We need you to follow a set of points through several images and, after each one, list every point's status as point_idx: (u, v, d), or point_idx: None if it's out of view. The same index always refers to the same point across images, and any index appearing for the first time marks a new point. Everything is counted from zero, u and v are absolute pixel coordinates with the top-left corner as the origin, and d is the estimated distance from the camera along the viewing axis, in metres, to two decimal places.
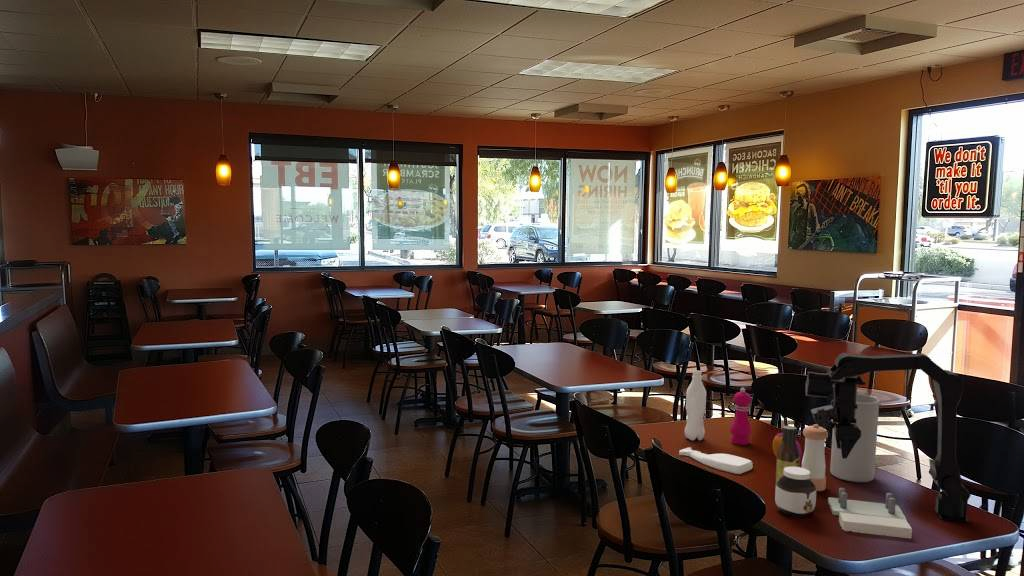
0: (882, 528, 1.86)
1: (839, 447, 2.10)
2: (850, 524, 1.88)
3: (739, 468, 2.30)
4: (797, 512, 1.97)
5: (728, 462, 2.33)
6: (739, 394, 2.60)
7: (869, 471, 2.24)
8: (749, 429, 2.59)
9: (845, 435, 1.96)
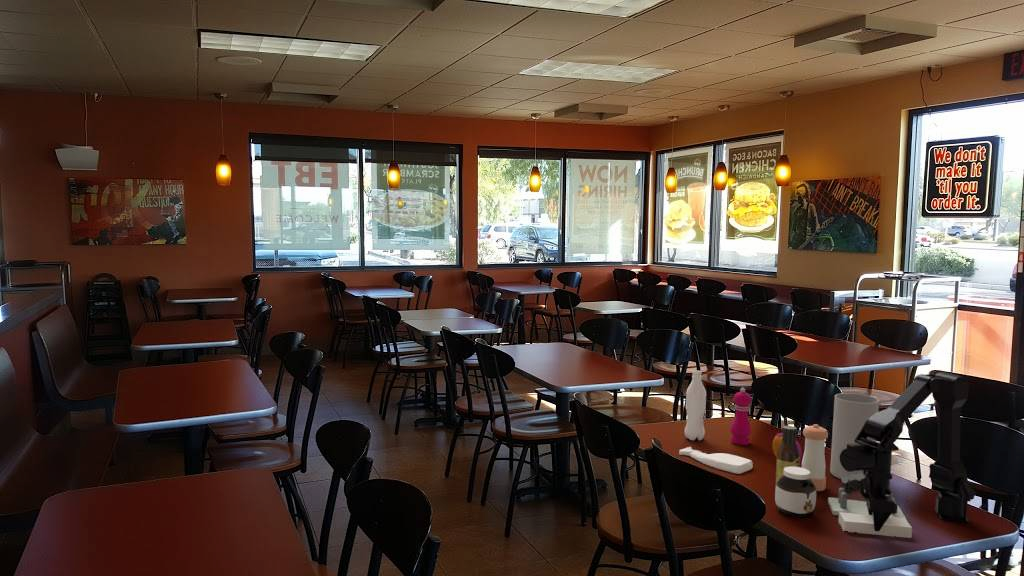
0: (883, 527, 1.86)
1: None
2: (851, 524, 1.88)
3: (739, 468, 2.30)
4: (797, 512, 1.97)
5: (728, 462, 2.34)
6: (739, 394, 2.60)
7: None
8: (749, 429, 2.59)
9: (880, 510, 1.80)
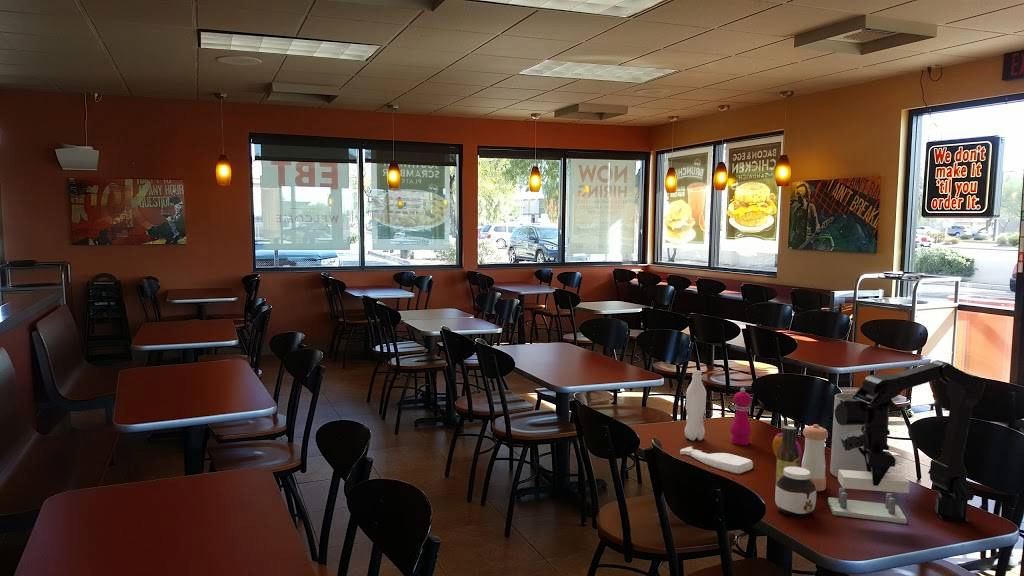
0: (881, 482, 1.91)
1: None
2: (850, 480, 1.93)
3: (739, 468, 2.30)
4: (797, 512, 1.97)
5: (728, 461, 2.34)
6: (739, 394, 2.60)
7: None
8: (749, 429, 2.59)
9: (879, 464, 1.85)
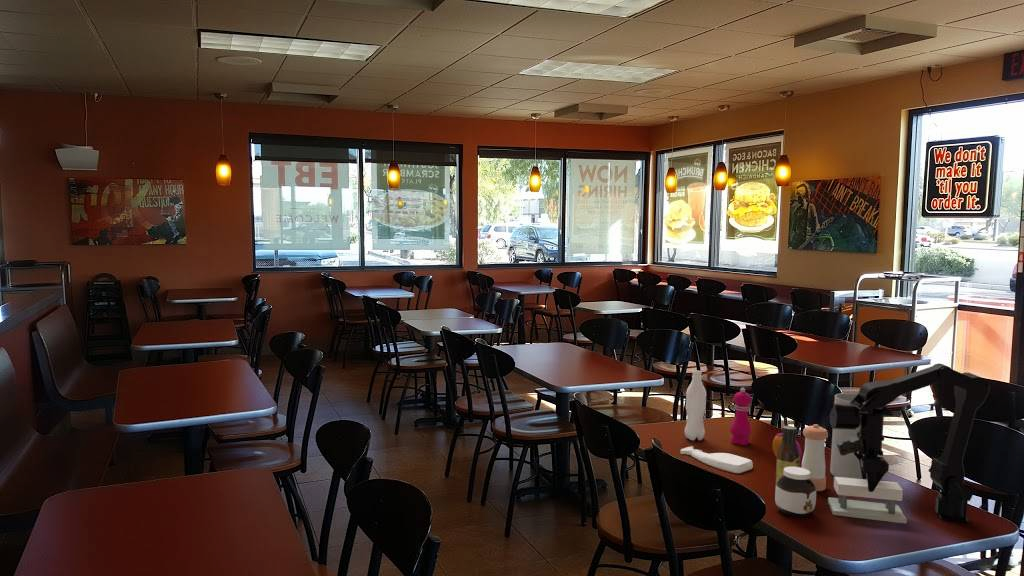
0: (875, 489, 1.97)
1: None
2: (845, 487, 1.99)
3: (738, 467, 2.30)
4: (797, 512, 1.97)
5: (728, 461, 2.34)
6: (739, 394, 2.60)
7: None
8: (749, 429, 2.59)
9: (872, 469, 1.91)
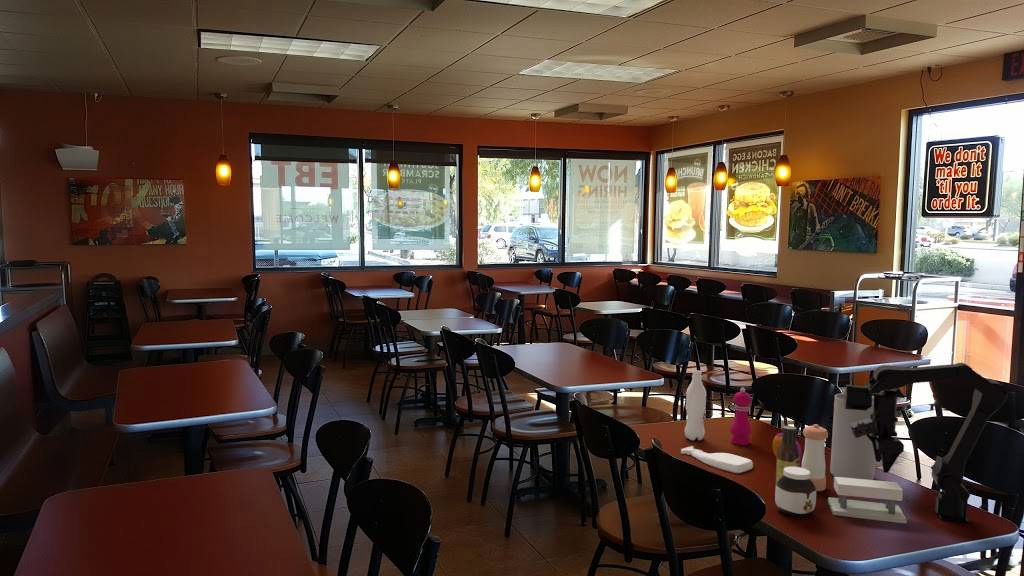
0: (875, 489, 1.97)
1: (878, 460, 2.07)
2: (845, 487, 1.99)
3: (738, 467, 2.30)
4: (797, 512, 1.97)
5: (728, 461, 2.34)
6: (739, 394, 2.60)
7: (869, 471, 2.24)
8: (749, 429, 2.59)
9: (888, 449, 1.94)
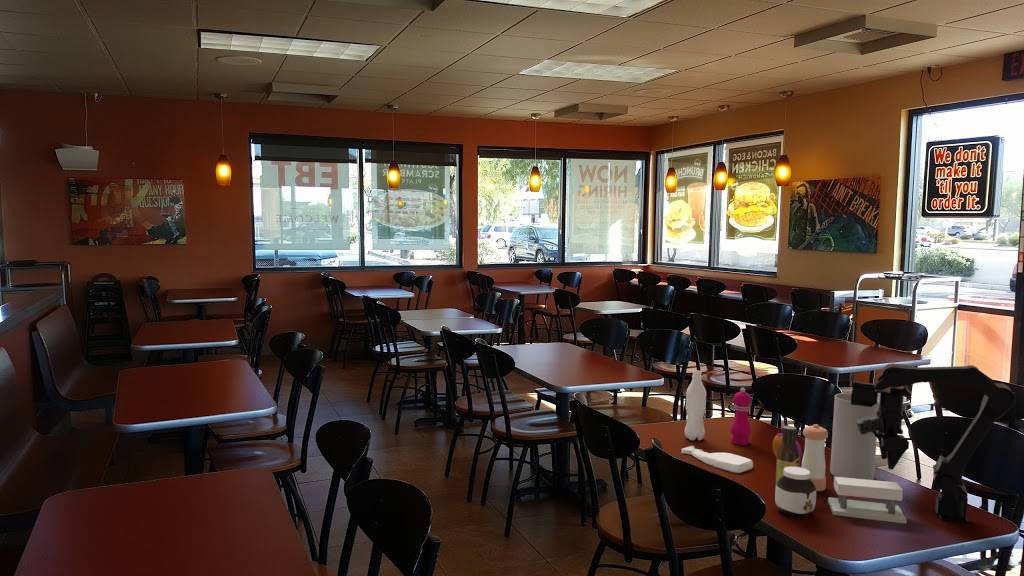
0: (875, 489, 1.97)
1: (884, 457, 2.09)
2: (845, 487, 1.99)
3: (738, 467, 2.30)
4: (797, 512, 1.97)
5: (728, 461, 2.34)
6: (739, 394, 2.60)
7: (869, 471, 2.24)
8: (749, 429, 2.59)
9: (893, 446, 1.96)
